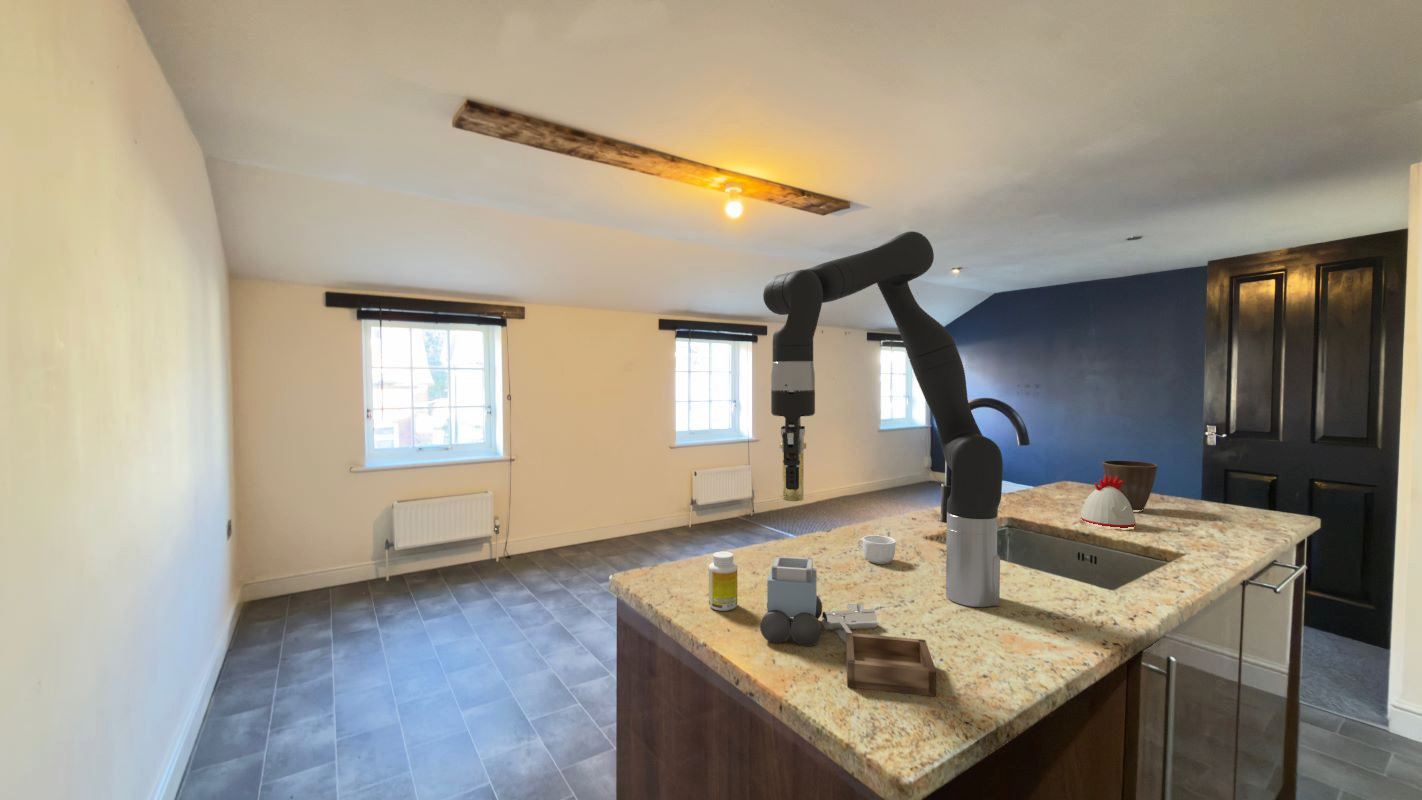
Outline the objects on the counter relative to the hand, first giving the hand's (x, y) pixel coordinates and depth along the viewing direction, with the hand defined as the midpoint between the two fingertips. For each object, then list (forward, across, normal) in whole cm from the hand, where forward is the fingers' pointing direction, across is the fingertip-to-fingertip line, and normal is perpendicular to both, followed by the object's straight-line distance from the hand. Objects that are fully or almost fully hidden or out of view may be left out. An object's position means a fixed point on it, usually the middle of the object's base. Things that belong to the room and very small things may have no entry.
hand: (793, 486), depth 99 cm
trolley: (+25, 0, 0) cm, 25 cm away
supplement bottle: (+26, -8, -14) cm, 30 cm away
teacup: (+26, -44, +17) cm, 54 cm away
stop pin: (+2, 0, 0) cm, 2 cm away
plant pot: (+26, -118, +105) cm, 160 cm away
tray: (+26, +12, +15) cm, 32 cm away
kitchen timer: (+26, -95, +89) cm, 133 cm away
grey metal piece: (+26, -1, +11) cm, 28 cm away
